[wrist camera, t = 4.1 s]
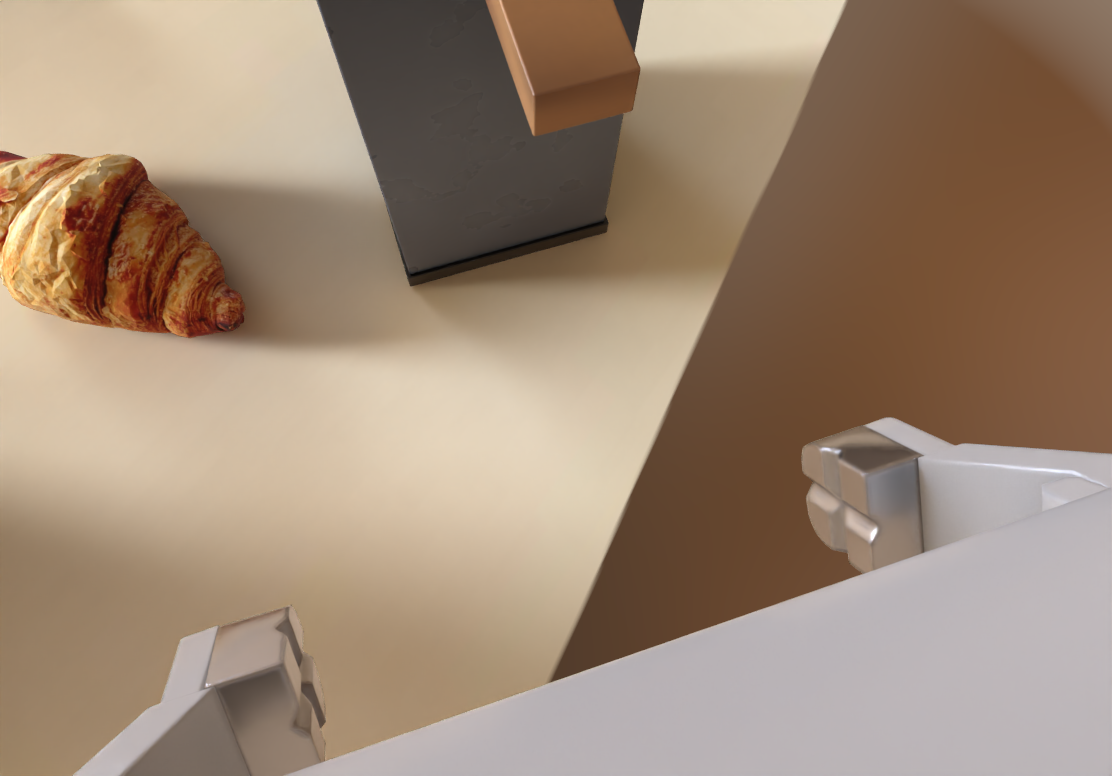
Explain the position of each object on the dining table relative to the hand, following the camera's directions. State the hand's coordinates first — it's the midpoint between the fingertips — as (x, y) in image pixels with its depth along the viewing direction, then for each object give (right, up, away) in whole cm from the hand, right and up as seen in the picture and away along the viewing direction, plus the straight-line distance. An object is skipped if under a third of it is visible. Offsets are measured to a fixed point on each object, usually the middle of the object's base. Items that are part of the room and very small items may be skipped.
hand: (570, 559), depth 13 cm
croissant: (-27, +11, +37) cm, 47 cm away
